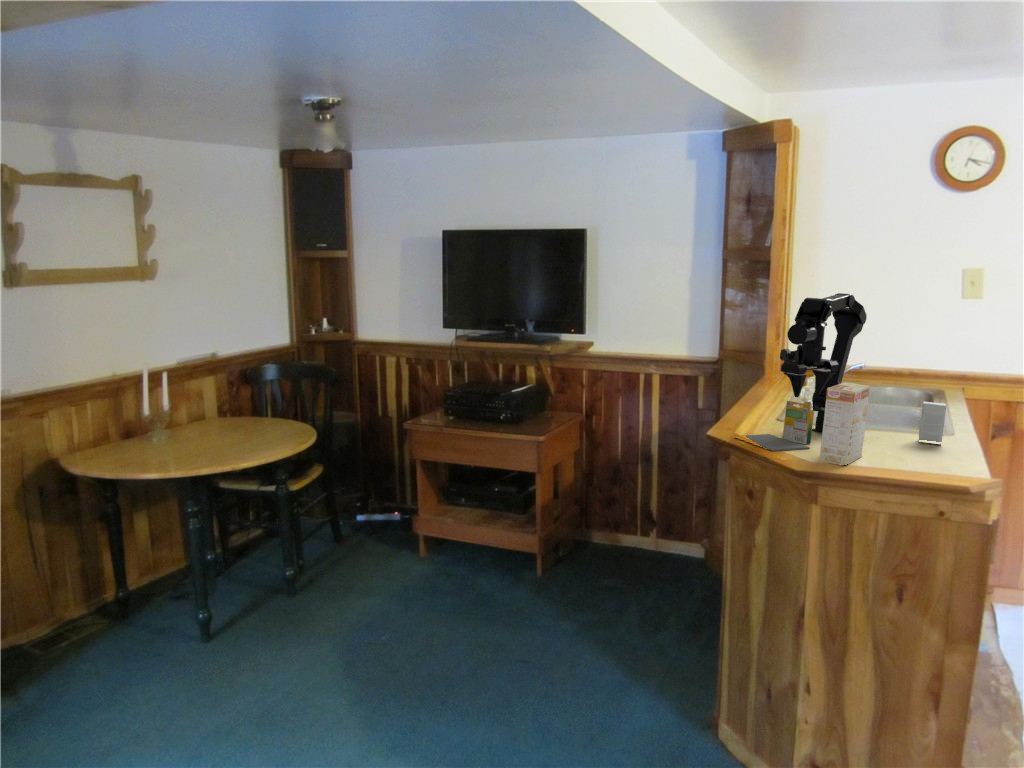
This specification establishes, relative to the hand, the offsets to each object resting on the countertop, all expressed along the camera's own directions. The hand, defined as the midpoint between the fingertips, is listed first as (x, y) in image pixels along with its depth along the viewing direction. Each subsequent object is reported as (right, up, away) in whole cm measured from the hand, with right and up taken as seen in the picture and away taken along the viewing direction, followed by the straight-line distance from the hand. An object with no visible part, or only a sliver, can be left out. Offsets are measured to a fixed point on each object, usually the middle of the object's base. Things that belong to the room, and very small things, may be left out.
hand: (806, 396), depth 222 cm
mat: (-12, -13, -5) cm, 19 cm away
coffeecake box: (+2, -17, -19) cm, 25 cm away
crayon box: (-3, -13, -1) cm, 14 cm away
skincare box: (+39, -14, +6) cm, 42 cm away
